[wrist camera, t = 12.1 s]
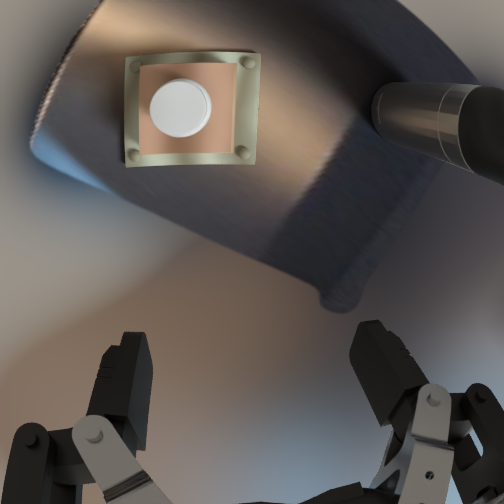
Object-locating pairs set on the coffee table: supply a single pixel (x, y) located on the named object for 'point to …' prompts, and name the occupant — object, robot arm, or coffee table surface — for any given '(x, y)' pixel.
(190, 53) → the stepped pedestal block
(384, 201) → the coffee table surface
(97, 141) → the coffee table surface
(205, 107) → the supplement bottle
